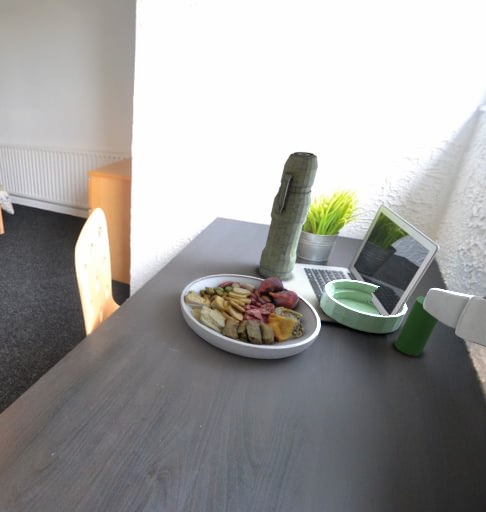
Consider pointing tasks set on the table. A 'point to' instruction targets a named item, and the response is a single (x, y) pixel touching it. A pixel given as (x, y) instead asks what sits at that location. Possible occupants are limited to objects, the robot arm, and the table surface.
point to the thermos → (288, 215)
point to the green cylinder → (416, 329)
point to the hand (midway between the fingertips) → (481, 303)
